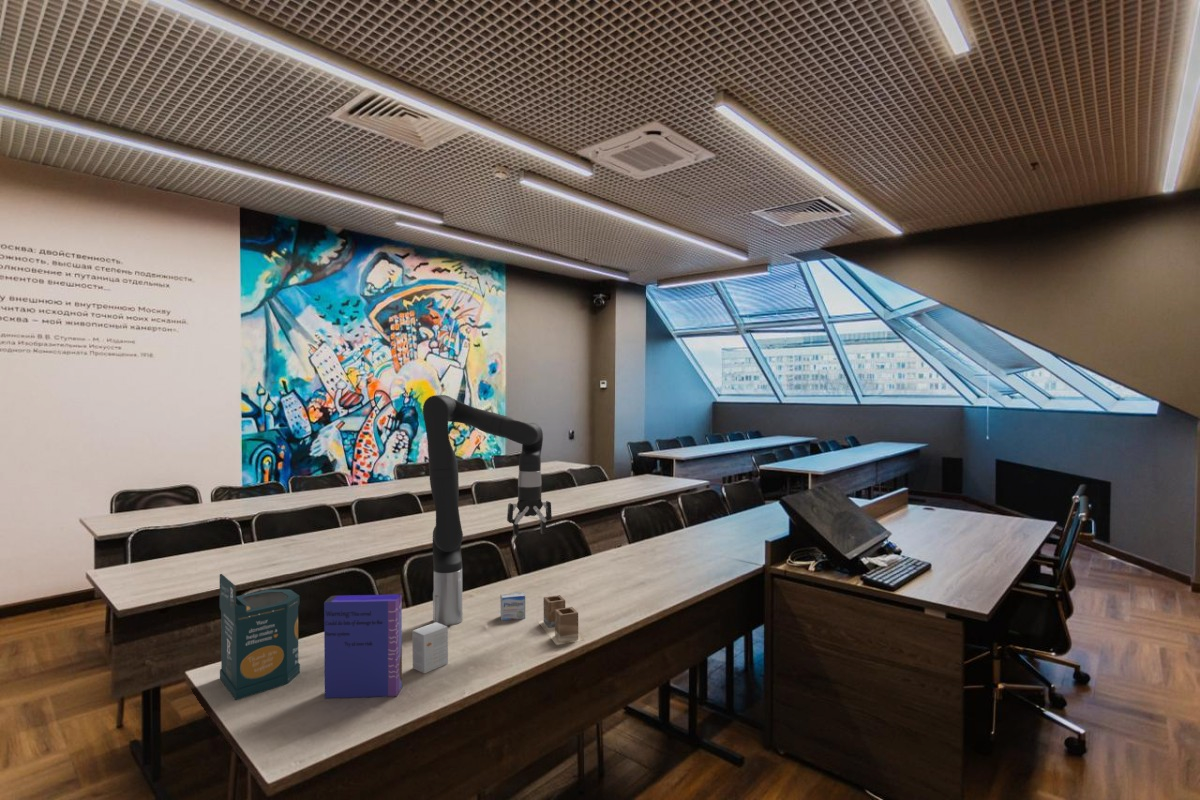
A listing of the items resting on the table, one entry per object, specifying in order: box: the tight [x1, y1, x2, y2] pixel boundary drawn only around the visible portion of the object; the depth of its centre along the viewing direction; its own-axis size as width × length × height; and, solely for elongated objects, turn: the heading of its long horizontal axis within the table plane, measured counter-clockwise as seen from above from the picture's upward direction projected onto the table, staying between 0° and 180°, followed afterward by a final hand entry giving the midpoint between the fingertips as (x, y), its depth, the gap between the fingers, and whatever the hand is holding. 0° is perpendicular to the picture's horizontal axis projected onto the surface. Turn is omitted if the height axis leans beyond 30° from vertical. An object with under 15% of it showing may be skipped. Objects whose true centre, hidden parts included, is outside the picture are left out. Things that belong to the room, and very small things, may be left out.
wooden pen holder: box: [543, 594, 566, 628], centre depth 188 cm, size 6×6×8 cm
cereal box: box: [323, 594, 403, 700], centre depth 147 cm, size 17×5×24 cm, turn 92°
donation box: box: [219, 573, 301, 701], centre depth 155 cm, size 16×16×28 cm
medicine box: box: [500, 591, 526, 621], centre depth 194 cm, size 8×4×9 cm, turn 105°
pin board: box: [537, 619, 585, 646], centre depth 183 cm, size 9×20×7 cm, turn 22°
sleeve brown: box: [555, 606, 579, 642], centre depth 177 cm, size 6×6×8 cm
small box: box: [411, 622, 449, 674], centre depth 161 cm, size 8×6×10 cm
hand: (529, 534), depth 189 cm, fingers open, 8 cm apart
